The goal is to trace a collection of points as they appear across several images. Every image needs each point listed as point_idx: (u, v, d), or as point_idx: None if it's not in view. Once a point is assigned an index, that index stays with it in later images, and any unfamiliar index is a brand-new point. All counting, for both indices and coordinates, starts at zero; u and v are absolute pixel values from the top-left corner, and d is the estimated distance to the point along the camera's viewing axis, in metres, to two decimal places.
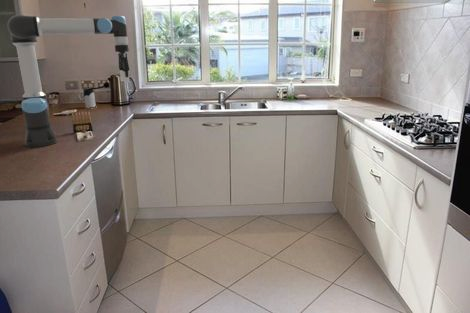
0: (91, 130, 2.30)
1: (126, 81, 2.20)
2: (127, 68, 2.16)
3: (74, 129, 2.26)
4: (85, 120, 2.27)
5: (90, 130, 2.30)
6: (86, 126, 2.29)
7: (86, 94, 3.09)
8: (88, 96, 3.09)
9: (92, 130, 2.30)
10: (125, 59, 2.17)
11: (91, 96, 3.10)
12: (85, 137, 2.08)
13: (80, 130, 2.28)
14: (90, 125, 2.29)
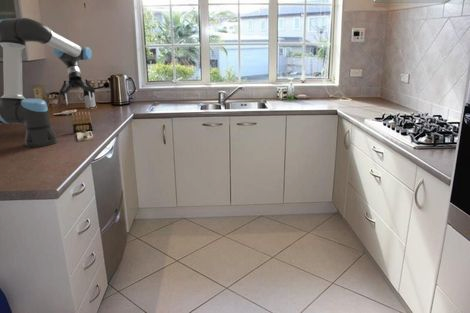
0: (91, 130, 2.30)
1: None
2: None
3: (74, 129, 2.26)
4: (85, 120, 2.27)
5: (90, 130, 2.30)
6: (86, 126, 2.29)
7: (86, 94, 3.09)
8: (88, 96, 3.09)
9: (92, 130, 2.30)
10: None
11: None
12: (85, 137, 2.08)
13: (80, 130, 2.28)
14: (90, 125, 2.29)
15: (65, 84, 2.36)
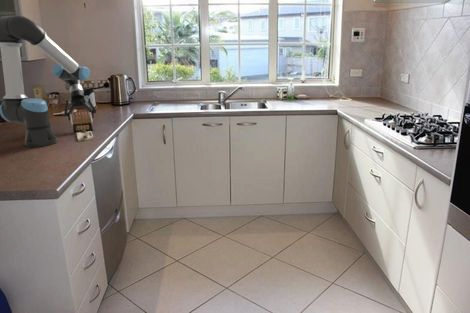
0: (91, 130, 2.30)
1: (92, 120, 2.27)
2: None
3: (74, 129, 2.26)
4: (85, 120, 2.27)
5: (90, 130, 2.30)
6: (86, 126, 2.29)
7: (86, 94, 3.09)
8: (88, 96, 3.09)
9: (92, 130, 2.30)
10: None
11: (91, 96, 3.10)
12: (85, 137, 2.08)
13: (80, 130, 2.28)
14: (90, 125, 2.29)
15: (68, 104, 2.28)
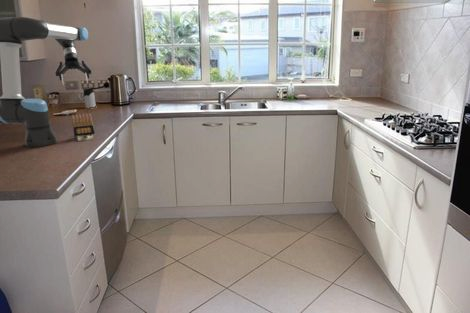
0: (93, 133, 2.16)
1: (87, 80, 2.33)
2: None
3: (75, 132, 2.13)
4: (86, 122, 2.13)
5: (92, 133, 2.16)
6: (87, 129, 2.15)
7: (86, 94, 3.09)
8: (88, 96, 3.09)
9: (94, 133, 2.16)
10: None
11: (91, 96, 3.10)
12: (85, 137, 2.08)
13: (81, 133, 2.14)
14: (92, 128, 2.15)
15: (61, 65, 2.33)
